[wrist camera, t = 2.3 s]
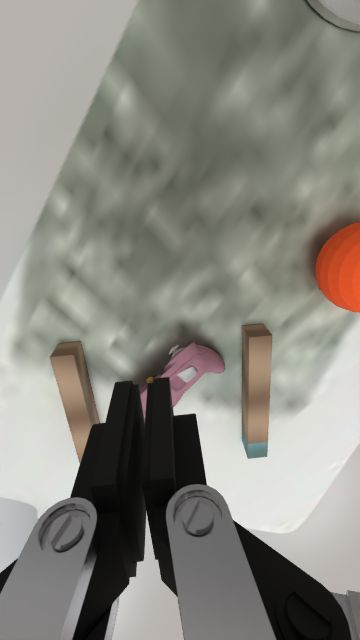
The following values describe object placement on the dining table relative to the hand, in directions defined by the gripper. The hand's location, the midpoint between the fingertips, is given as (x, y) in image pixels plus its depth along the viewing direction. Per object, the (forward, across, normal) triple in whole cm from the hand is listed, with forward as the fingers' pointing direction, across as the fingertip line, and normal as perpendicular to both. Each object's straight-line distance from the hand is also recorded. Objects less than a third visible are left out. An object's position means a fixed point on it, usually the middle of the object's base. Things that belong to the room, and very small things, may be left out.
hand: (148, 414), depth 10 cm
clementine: (+17, -16, -1) cm, 24 cm away
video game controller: (+17, 0, +9) cm, 20 cm away
